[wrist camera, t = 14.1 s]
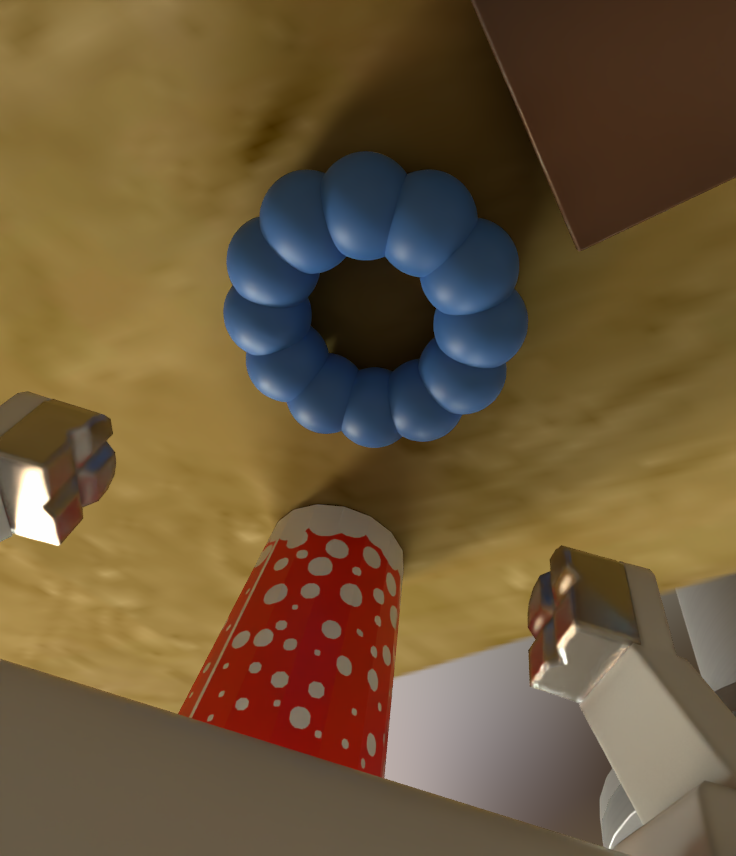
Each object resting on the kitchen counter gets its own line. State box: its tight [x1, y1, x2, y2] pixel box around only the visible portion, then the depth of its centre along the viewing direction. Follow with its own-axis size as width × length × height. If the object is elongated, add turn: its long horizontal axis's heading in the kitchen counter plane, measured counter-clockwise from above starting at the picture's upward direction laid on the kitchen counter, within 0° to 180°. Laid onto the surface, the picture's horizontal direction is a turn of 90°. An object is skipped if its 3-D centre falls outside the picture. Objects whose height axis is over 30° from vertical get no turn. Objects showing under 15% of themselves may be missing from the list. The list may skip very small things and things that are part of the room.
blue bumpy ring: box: [223, 151, 528, 448], centre depth 13 cm, size 7×7×2 cm
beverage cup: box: [178, 504, 404, 778], centre depth 14 cm, size 6×6×14 cm
